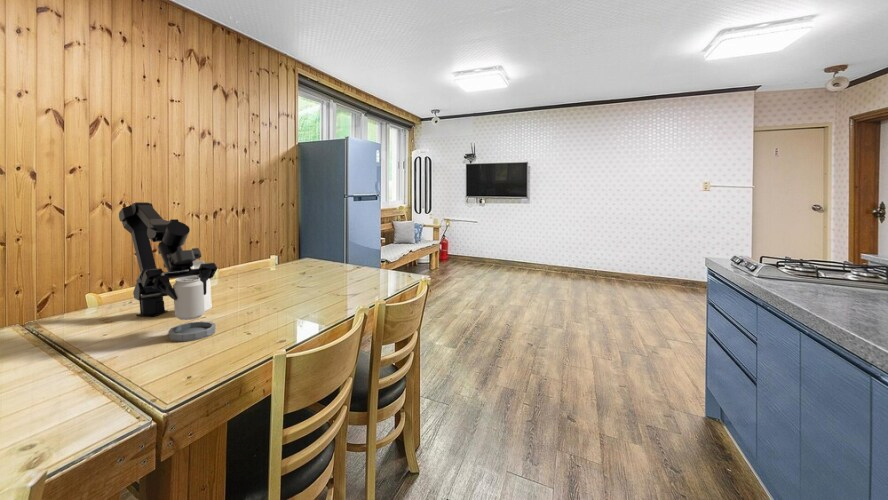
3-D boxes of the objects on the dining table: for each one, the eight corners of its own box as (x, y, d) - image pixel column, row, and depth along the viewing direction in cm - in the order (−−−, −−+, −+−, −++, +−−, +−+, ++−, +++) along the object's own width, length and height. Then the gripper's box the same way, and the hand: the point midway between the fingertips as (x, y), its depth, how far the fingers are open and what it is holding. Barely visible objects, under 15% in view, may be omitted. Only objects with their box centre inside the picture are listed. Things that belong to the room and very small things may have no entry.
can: (199, 320, 110) (197, 281, 108) (170, 321, 108) (167, 281, 106) (208, 312, 117) (206, 275, 115) (181, 313, 115) (178, 276, 113)
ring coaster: (159, 339, 108) (159, 333, 108) (190, 326, 120) (189, 320, 119) (196, 342, 107) (195, 335, 107) (223, 328, 118) (223, 322, 118)
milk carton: (192, 308, 139) (189, 258, 136) (212, 308, 139) (209, 259, 137) (180, 314, 132) (177, 262, 129) (201, 314, 132) (198, 262, 130)
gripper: (142, 242, 104) (160, 286, 99) (213, 237, 119) (231, 276, 114) (134, 265, 109) (151, 309, 104) (203, 258, 124) (220, 296, 120)
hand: (190, 296), depth 111 cm, fingers closed on can, 7 cm apart
